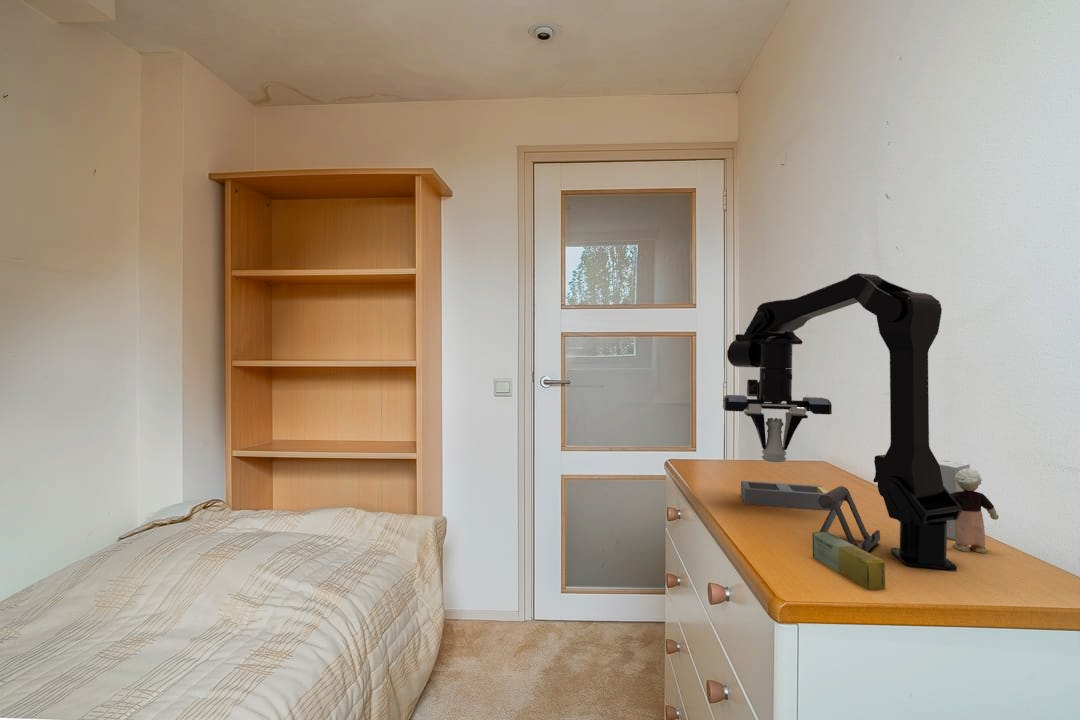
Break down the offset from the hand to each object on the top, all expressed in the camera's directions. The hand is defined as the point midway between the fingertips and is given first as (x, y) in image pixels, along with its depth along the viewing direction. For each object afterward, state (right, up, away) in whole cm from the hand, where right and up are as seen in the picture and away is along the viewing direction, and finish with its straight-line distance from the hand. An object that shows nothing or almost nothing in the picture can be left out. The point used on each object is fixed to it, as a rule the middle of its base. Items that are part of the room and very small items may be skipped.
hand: (774, 449), depth 108 cm
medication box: (-3, -13, -30) cm, 33 cm away
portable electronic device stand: (+4, -13, -18) cm, 23 cm away
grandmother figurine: (+22, -13, -20) cm, 32 cm away
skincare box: (+24, -13, -13) cm, 30 cm away
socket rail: (+5, -12, +7) cm, 15 cm away
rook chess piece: (0, -2, 0) cm, 2 cm away
